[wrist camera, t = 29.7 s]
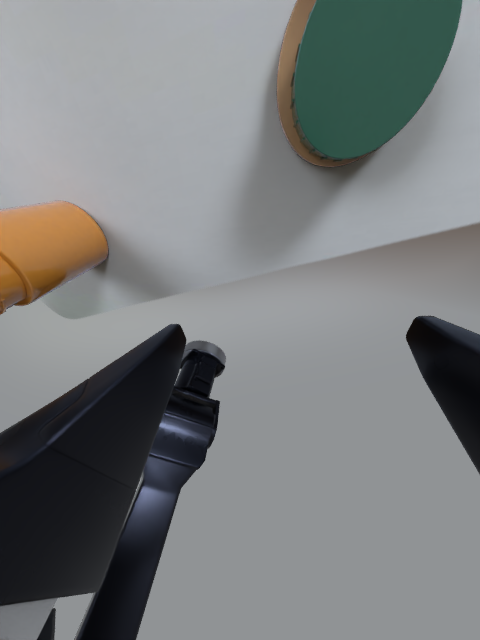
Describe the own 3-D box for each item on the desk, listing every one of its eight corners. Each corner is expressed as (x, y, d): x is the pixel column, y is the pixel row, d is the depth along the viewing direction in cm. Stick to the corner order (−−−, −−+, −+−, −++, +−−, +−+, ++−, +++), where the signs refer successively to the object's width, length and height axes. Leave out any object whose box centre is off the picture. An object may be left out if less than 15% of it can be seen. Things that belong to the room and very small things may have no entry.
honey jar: (104, 274, 21) (9, 336, 14) (46, 242, 20) (-100, 290, 12) (113, 228, 18) (-9, 275, 10) (43, 184, 16) (-165, 200, 8)
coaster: (333, 194, 14) (335, 195, 13) (249, 99, 12) (248, 97, 11) (473, 42, 9) (483, 36, 9) (382, -167, 7) (390, -190, 6)
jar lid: (458, -65, 8) (515, -135, 6) (397, 150, 12) (419, 148, 10) (291, -7, 9) (296, -50, 7) (288, 169, 13) (291, 170, 11)
